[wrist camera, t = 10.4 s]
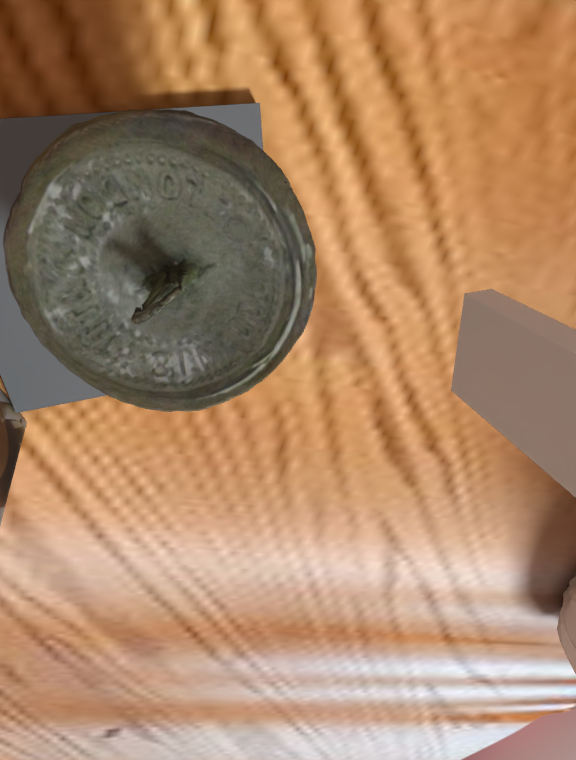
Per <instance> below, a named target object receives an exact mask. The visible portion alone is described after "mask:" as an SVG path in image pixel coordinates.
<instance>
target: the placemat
mask: <svg viewBox="0 0 576 760" xmlns="http://www.w3.org/2000/svg"><path fill="white" fill-rule="evenodd" d="M152 110H179V111H180V110H186V111H189V112H192V113H194V114H196V115H199V116H203V117H206V118H210V119H213V120H215V121H217V122H219V123H222V124H224V125H226V126H228V127H230V128H231V129H233V130H235V131H236V132H238V133H239V134H241V135H243V136H245V137H246V138H248V139H250V140H252V141H253V142H254V143H255V144H256V145H257V146H258V147H259V148H261V149H262V150H263V142H262V128H261V114H260V103H250V104H234V105H218V106H201V107H185V108H168V109H152ZM119 112H122V111H119ZM113 113H118V112H103V113H86V114H70V115H54V116H37V117H21V118H5V119H0V375H1V378H2V380H3V382H4V385H5V387H6V390H7V392H8V395H9V397H10V400H11V402H12V404H13V407H14V409H15V412H16V413H19V412H24V411H29V410H34V409H39V408H44V407H49V406H54V405H60V404H65V403H70V402H75V401H80V400H85V399H90V398H95V397H100V396H106V394H104V393H102V392H101V391H99V390H97V389H96V388H94V387H92V386H91V385H89V384H87V383H86V382H84V381H83V380H82V379H81V378H79V377H78V376H76V375H74V374H73V373H72V372H70V371H69V370H68V369H67V368H66V367H65V366H64V365H63V364H62V363H60V362H59V361H58V360H57V358H56V357H55V356H54V355H53V354H51V353H50V352H49V351H48V350H47V349H46V348H45V347H44V346H43V345H42V344H41V343H40V341H39V339H38V338H37V337H36V335H35V334H34V332H33V330H32V328H31V327H30V325H29V323H28V322H27V321H26V320H25V319H24V318H23V316H22V314H21V311H20V308H19V305H18V303H17V302H16V300H15V298H14V296H13V295H12V292H11V289H10V286H9V282H8V275H7V271H6V264H5V254H4V246H3V237H4V231H5V226H6V223H7V220H8V217H9V215H10V209H11V207H12V205H13V203H14V201H15V200H16V198H17V196H18V194H19V193H20V191H21V183H22V180H23V178H24V176H25V174H26V173H27V171H28V169H29V168H30V166H31V164H32V163H33V161H34V160H35V159H36V158H37V156H38V155H40V154H41V153H42V152H43V151H44V150H45V149H46V147H47V146H48V145H49V144H50V143H52V142H53V141H54V140H55V139H56V138H57V137H58V136H60V135H61V134H62V133H63V132H64V131H65V130H66V129H67V128H69V127H70V126H72V125H74V124H77V123H83V122H86V121H89V120H91V119H93V118H95V117H98V116H101V115H108V114H113Z"/></svg>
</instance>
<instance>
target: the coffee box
mask: <svg viewBox="0 0 576 760" xmlns="http://www.w3.org/2000/svg"><path fill="white" fill-rule="evenodd" d="M26 425H27V422H26V421H25V419H24V418H23V417H22V416H21V414H20V413H16V412H15V409H14V407H13V404H12V403H11V402H10V400H9V399H8V398H7V397H6V395H5V394H4V393H3V392H2V390H1V389H0V525H1V521H2V517H3V513H4V509H5V504H6V501H7V497H8V493H9V489H10V486H11V481H12V478H13V474H14V470H15V466H16V462H17V458H18V454H19V451H20V447H21V443H22V439H23V436H24V432H25V428H26Z"/></svg>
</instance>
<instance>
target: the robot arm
mask: <svg viewBox="0 0 576 760" xmlns="http://www.w3.org/2000/svg"><path fill="white" fill-rule="evenodd" d="M451 391H452V392H454V393H455V394H456V395H457V396H458V397H459V398H461V399H462V400H463V401H464V402H465V403H466V404H467V405H469V406H470V407H471V408H472V409H473V410H474V411H476V412H477V413H478V414H479V415H480V416H481V417H483V418H484V419H485V420H486V421H487V422H488V423H490V424H491V425H492V426H493V427H494V428H495V429H496V430H498V431H499V432H500V433H501V434H502V435H503V436H505V437H506V438H507V439H508V440H509V441H510V442H512V443H513V444H514V445H515V446H516V447H517V448H519V449H520V450H521V451H522V452H523V453H524V454H526V455H527V456H528V457H529V458H530V459H531V460H532V461H534V462H535V463H536V464H537V465H538V466H539V467H541V468H542V469H543V470H544V471H545V472H546V473H548V474H549V475H550V476H551V477H552V478H553V479H555V480H556V481H557V482H558V483H559V484H560V485H561V486H563V487H564V488H565V489H566V490H567V491H568V492H570V493H571V494H572V495H573V496H574V497H575V498H576V330H575V329H573V328H571V327H569V326H567V325H565V324H563V323H561V322H559V321H557V320H555V319H553V318H551V317H548V316H546V315H544V314H542V313H540V312H538V311H536V310H534V309H532V308H530V307H528V306H526V305H524V304H522V303H520V302H518V301H516V300H514V299H511V298H509V297H507V296H505V295H503V294H501V293H499V292H497V291H495V290H493V289H489V290H483V291H477V292H471V293H465V295H464V302H463V309H462V316H461V323H460V330H459V337H458V345H457V352H456V359H455V366H454V373H453V380H452V387H451Z"/></svg>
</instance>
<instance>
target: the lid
mask: <svg viewBox="0 0 576 760" xmlns="http://www.w3.org/2000/svg"><path fill="white" fill-rule="evenodd" d="M3 246H4V254H5V264H6V271H7V275H8V282H9V286H10V289H11V292H12V295H13V296H14V298H15V300H16V302H17V303H18V305H19V308H20V311H21V314H22V316H23V318H24V319H25V320H26V321H27V322H28V323H29V325H30V327H31V328H32V330H33V332H34V334H35V335H36V337H37V338H38V339H39V341H40V343H41V344H42V345H43V346H44V347H45V348H46V349H47V350H48V351H49V352H50V353H51V354H53V355H54V356H55V357H56V358H57V360H58V361H59V362H60V363H62V364H63V365H64V366H65V367H66V368H67V369H68V370H69V371H70V372H72V373H73V374H74V375H76V376H78V377H79V378H81V379H82V380H83V381H84V382H86V383H87V384H89V385H91V386H92V387H94V388H96V389H97V390H99V391H101V392H102V393H104V394H106V395H108V396H110V397H112V398H116V399H118V400H120V401H121V402H124V403H128V404H133V405H135V406H137V407H141V408H145V409H151V410H160V411H168V412H172V411H198V410H203V409H208V408H210V407H212V406H214V405H218V404H221V403H224V402H226V401H228V400H230V399H232V398H234V397H236V396H239V395H241V394H243V393H245V392H247V391H249V390H250V389H251V388H252V387H254V386H255V385H256V384H258V383H260V382H261V381H263V380H264V379H265V378H266V377H267V376H268V375H269V374H270V373H271V372H273V371H274V370H275V369H276V367H277V366H278V365H279V364H280V363H281V362H282V361H283V360H284V358H285V357H286V355H287V354H288V353H289V352H290V350H291V349H292V347H293V346H294V344H295V343H296V341H297V340H298V339H299V337H300V336H301V335H302V333H303V332H304V329H305V327H306V325H307V322H308V319H309V316H310V313H311V311H312V307H313V302H314V293H315V286H316V278H317V270H316V264H315V245H314V241H313V239H312V236H311V232H310V230H309V227H308V225H307V221H306V217H305V214H304V211H303V209H302V207H301V205H300V203H299V201H298V199H297V197H296V195H295V194H294V192H293V190H292V188H291V186H290V183H289V181H288V179H287V178H286V176H285V175H284V173H283V172H282V170H281V169H280V168H279V167H278V166H277V164H276V163H275V162H274V161H273V160H272V159H271V158H270V157H269V156H268V155H267V154H266V153H265V152H264V151H263V150H262V149H261V148H259V147H258V146H257V145H256V144H255V143H254V142H253V141H252V140H250V139H248V138H246V137H245V136H243V135H241V134H239V133H238V132H236V131H235V130H233V129H231V128H230V127H228V126H226V125H224V124H222V123H219V122H217V121H215V120H213V119H210V118H206V117H203V116H199V115H196V114H194V113H192V112H189V111H186V110H180V111H179V110H128V111H122V112H118V113H113V114H108V115H101V116H98V117H95V118H93V119H91V120H89V121H86V122H83V123H77V124H74V125H72V126H70V127H69V128H67V129H66V130H65V131H64V132H63V133H62V134H61V135H60V136H58V137H57V138H56V139H55V140H54V141H53V142H52V143H50V144H49V145H48V146H47V147H46V149H45V150H44V151H43V152H42V153H41V154H40V155H38V156H37V158H36V159H35V160H34V161H33V163H32V164H31V166H30V168H29V169H28V171H27V173H26V174H25V176H24V178H23V180H22V183H21V191H20V193H19V194H18V196H17V198H16V200H15V201H14V203H13V205H12V207H11V209H10V215H9V217H8V220H7V223H6V226H5V231H4V237H3Z"/></svg>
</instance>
